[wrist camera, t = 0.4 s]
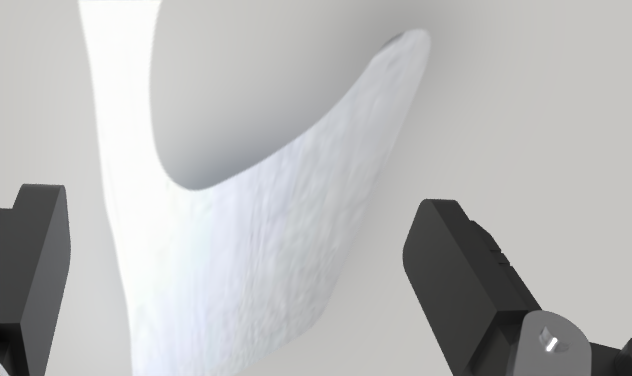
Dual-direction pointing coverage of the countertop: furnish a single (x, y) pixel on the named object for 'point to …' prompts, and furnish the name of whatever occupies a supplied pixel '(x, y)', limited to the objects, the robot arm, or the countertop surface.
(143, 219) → the countertop surface
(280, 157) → the countertop surface
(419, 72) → the countertop surface
